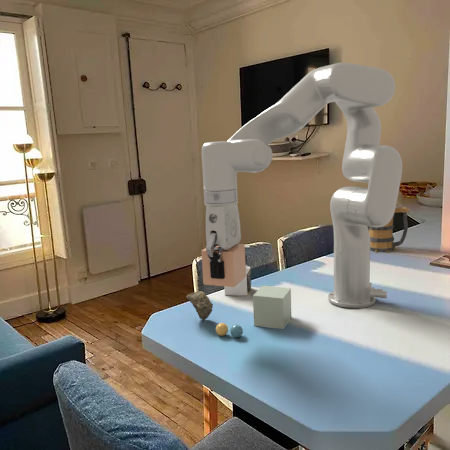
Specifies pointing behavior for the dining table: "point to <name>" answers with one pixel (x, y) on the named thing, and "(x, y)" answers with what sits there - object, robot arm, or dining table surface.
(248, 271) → the medicine bottle
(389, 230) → the mug
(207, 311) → the rock
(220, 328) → the marble amber
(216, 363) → the dining table surface
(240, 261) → the salmon pink box
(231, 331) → the marble teal
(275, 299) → the sage green cube
